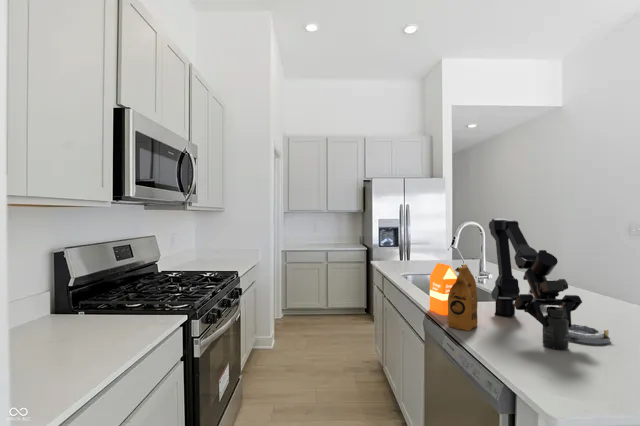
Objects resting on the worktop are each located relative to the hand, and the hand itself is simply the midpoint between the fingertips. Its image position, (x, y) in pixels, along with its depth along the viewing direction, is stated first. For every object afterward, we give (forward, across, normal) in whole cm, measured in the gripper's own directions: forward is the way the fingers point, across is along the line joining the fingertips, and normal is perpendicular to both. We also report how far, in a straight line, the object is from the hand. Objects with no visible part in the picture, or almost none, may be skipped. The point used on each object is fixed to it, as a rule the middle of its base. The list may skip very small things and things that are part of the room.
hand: (558, 326), depth 111 cm
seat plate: (-4, +14, +13) cm, 19 cm away
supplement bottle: (+4, 0, +6) cm, 7 cm away
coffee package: (-10, -22, +19) cm, 31 cm away
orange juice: (-22, -24, +32) cm, 46 cm away
